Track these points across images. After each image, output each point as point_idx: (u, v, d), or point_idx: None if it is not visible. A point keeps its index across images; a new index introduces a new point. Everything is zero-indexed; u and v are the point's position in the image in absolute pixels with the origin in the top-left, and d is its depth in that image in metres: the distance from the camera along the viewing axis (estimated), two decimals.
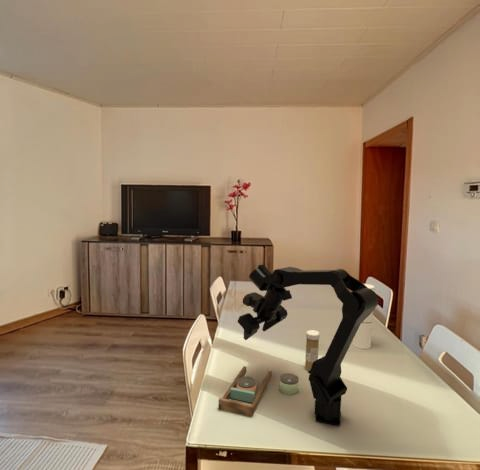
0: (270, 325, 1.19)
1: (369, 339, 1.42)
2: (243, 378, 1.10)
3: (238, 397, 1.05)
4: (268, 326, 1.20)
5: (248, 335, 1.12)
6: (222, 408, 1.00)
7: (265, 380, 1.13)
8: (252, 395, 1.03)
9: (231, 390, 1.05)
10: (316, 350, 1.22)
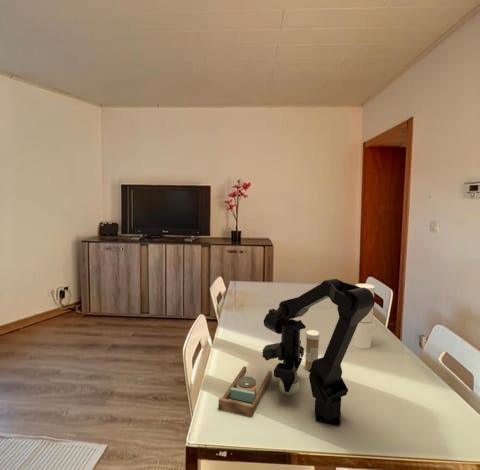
0: None
1: (369, 339, 1.42)
2: (243, 378, 1.10)
3: (238, 397, 1.05)
4: None
5: (290, 383, 1.06)
6: (222, 408, 1.00)
7: (265, 380, 1.13)
8: (252, 395, 1.03)
9: (231, 390, 1.05)
10: (316, 350, 1.22)
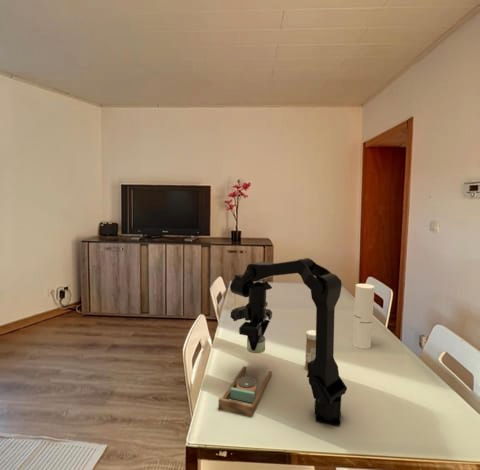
0: (262, 332, 1.19)
1: (369, 339, 1.42)
2: (243, 378, 1.10)
3: (238, 397, 1.05)
4: (261, 334, 1.19)
5: (256, 341, 1.12)
6: (222, 408, 1.00)
7: (265, 380, 1.13)
8: (252, 395, 1.03)
9: (231, 390, 1.05)
10: None
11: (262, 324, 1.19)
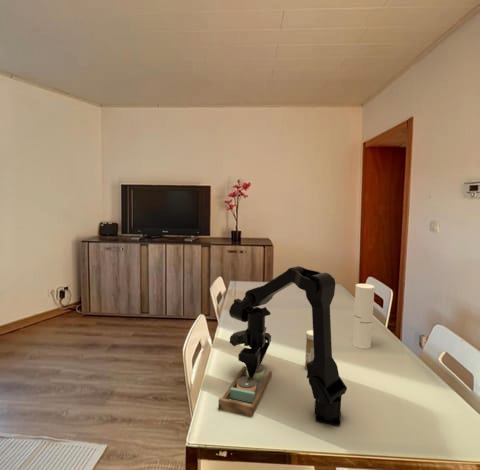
0: (263, 354, 1.21)
1: (369, 339, 1.42)
2: (243, 378, 1.10)
3: (238, 397, 1.05)
4: (261, 356, 1.21)
5: (253, 369, 1.11)
6: (222, 408, 1.00)
7: (265, 380, 1.13)
8: (252, 395, 1.03)
9: (231, 390, 1.05)
10: None
11: (262, 347, 1.21)
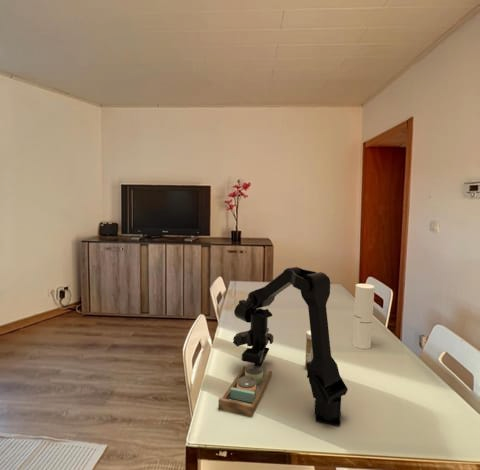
0: (262, 360, 1.20)
1: (369, 339, 1.42)
2: (243, 378, 1.10)
3: (238, 397, 1.05)
4: (261, 362, 1.21)
5: (260, 363, 1.19)
6: (222, 408, 1.00)
7: (265, 380, 1.13)
8: (252, 395, 1.03)
9: (231, 390, 1.05)
10: None
11: None
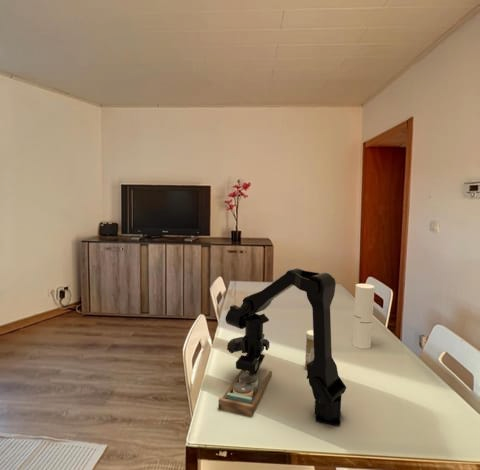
0: None
1: (369, 339, 1.42)
2: (239, 383, 1.07)
3: None
4: None
5: (255, 370, 1.14)
6: (222, 408, 1.00)
7: (265, 380, 1.13)
8: (249, 401, 1.01)
9: (228, 395, 1.03)
10: None
11: None
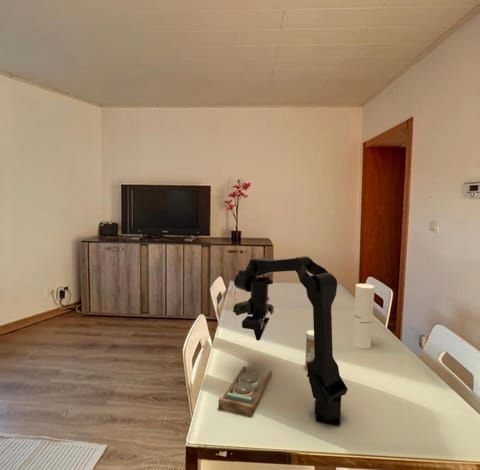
0: None
1: (369, 339, 1.42)
2: (239, 383, 1.07)
3: None
4: None
5: (260, 332, 1.17)
6: (222, 408, 1.00)
7: (265, 380, 1.13)
8: (249, 401, 1.01)
9: (227, 395, 1.03)
10: None
11: None
